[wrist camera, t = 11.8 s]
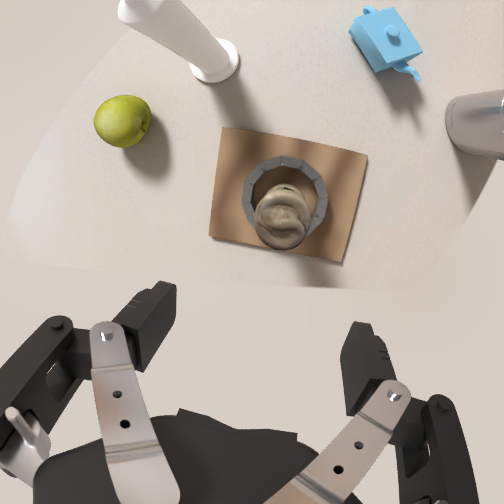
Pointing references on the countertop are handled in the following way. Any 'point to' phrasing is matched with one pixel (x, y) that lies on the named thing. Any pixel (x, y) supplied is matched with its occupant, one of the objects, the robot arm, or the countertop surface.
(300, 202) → the light bulb
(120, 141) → the apple
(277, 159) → the ring seat
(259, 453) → the robot arm
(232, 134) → the board
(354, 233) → the countertop surface
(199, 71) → the candle
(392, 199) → the countertop surface
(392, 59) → the teapot
